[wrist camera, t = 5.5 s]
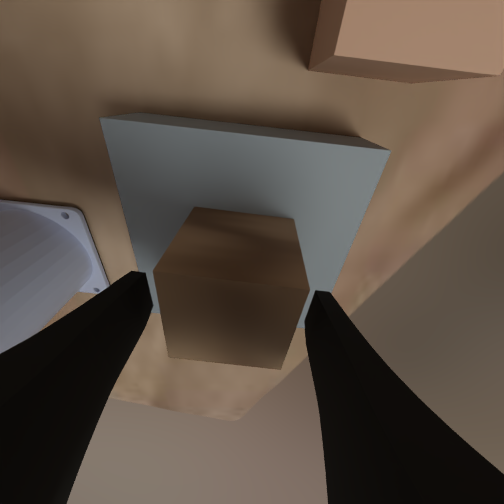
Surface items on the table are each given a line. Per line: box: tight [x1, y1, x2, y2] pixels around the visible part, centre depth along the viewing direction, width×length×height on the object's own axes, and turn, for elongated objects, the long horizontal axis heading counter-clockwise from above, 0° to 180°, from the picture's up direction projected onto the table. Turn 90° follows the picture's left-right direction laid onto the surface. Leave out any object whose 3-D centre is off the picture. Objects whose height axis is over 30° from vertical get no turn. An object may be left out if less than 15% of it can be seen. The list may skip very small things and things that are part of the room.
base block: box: [99, 112, 391, 328], centre depth 14 cm, size 12×12×4 cm
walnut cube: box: [153, 206, 310, 370], centre depth 11 cm, size 5×5×5 cm
